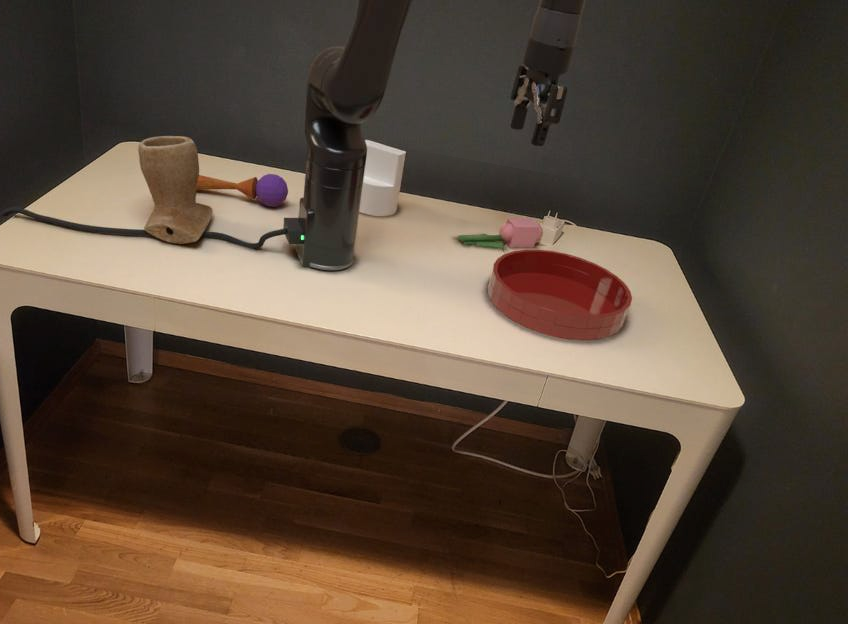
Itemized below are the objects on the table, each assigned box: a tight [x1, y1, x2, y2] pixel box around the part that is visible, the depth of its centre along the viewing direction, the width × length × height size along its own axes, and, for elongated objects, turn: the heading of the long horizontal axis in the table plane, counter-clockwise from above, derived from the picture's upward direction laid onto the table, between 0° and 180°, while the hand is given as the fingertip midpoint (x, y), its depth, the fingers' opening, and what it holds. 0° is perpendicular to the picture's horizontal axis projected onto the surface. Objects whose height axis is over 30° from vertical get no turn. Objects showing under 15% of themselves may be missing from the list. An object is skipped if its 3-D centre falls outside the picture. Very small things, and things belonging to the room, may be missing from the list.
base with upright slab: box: [359, 139, 407, 217], centre depth 144 cm, size 9×9×12 cm
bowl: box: [487, 249, 633, 341], centre depth 121 cm, size 22×22×4 cm
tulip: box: [457, 217, 544, 249], centre depth 140 cm, size 17×6×4 cm, turn 106°
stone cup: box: [137, 135, 214, 245], centre depth 124 cm, size 15×12×15 cm
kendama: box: [196, 173, 289, 207], centre depth 140 cm, size 6×6×20 cm
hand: (526, 136), depth 131 cm, fingers open, 8 cm apart
